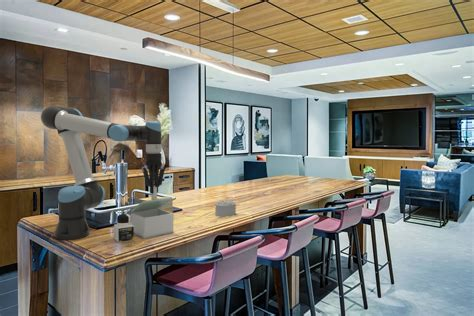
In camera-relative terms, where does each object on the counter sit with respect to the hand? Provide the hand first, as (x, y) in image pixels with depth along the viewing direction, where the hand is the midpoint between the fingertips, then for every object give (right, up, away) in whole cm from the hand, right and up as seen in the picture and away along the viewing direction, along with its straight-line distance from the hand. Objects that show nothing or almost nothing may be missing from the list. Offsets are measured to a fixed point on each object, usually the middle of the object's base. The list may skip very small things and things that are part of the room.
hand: (154, 199), depth 170 cm
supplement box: (-1, -15, +28) cm, 32 cm away
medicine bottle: (-12, -18, -10) cm, 24 cm away
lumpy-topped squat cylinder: (+34, -15, +44) cm, 57 cm away
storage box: (-1, -17, +2) cm, 17 cm away
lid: (-2, -3, +2) cm, 4 cm away
